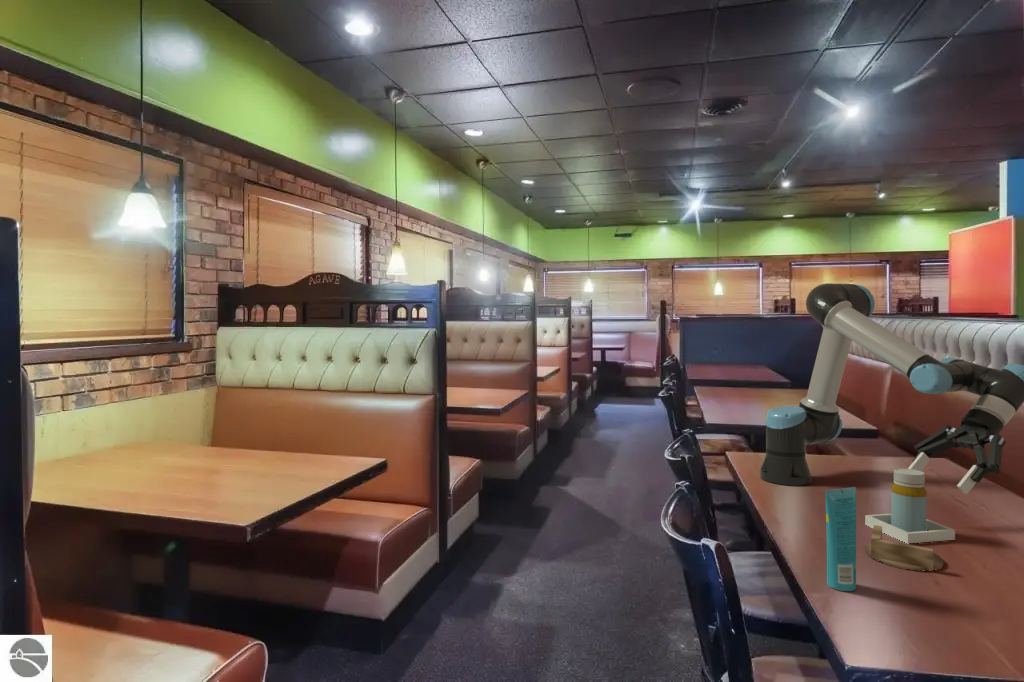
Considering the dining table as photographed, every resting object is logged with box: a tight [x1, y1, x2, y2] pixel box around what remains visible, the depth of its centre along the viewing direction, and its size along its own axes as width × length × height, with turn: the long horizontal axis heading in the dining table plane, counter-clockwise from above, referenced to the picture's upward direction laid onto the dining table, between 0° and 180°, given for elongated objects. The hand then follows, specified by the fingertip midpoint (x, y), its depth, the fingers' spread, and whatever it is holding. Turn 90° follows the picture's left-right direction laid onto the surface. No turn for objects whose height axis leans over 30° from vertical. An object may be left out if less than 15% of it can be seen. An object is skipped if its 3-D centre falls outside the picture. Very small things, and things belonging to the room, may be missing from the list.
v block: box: [864, 525, 944, 572], centre depth 122 cm, size 14×15×4 cm
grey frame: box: [864, 513, 956, 545], centre depth 136 cm, size 13×13×2 cm
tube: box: [825, 486, 857, 592], centre depth 109 cm, size 7×5×19 cm, turn 112°
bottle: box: [890, 467, 928, 532], centre depth 136 cm, size 7×7×15 cm
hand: (934, 482), depth 136 cm, fingers open, 13 cm apart
